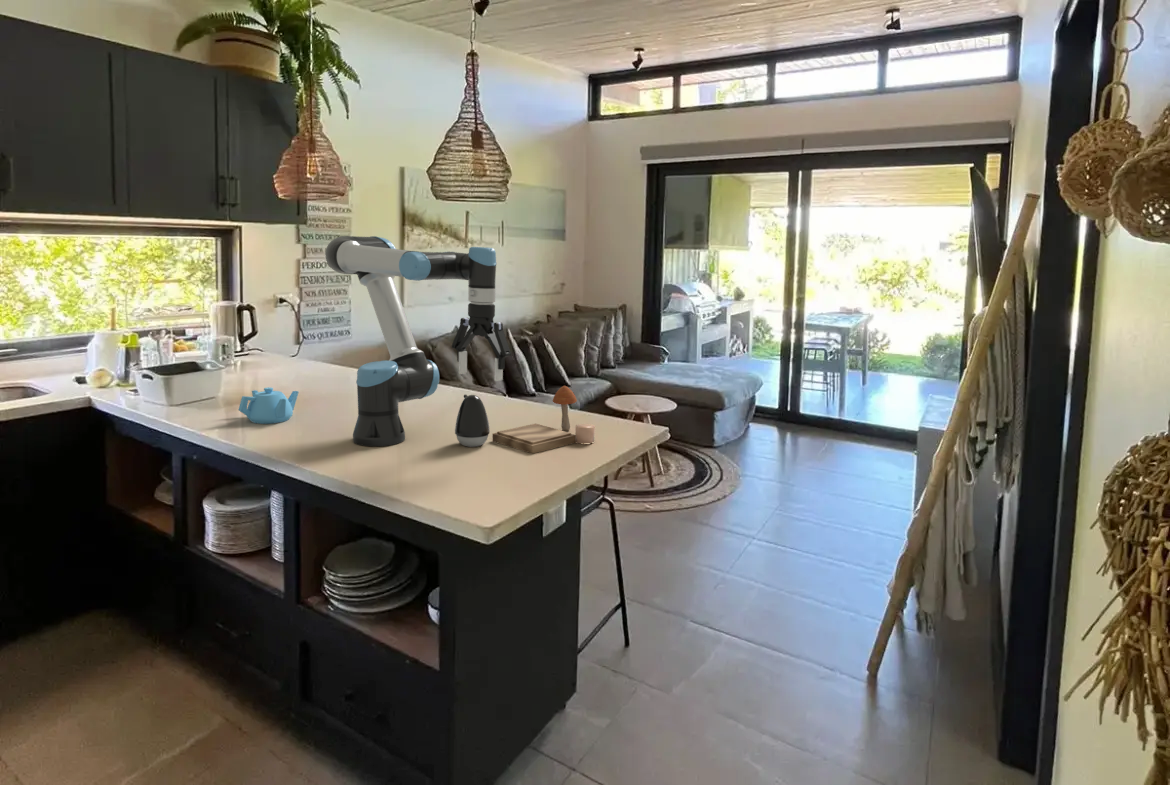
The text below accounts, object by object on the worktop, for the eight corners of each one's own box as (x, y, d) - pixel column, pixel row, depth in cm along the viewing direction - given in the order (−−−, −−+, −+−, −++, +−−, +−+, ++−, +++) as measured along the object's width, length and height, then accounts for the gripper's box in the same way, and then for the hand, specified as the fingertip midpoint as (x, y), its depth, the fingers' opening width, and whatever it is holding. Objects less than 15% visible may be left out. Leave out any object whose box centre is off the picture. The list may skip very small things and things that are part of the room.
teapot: (254, 414, 244) (252, 383, 242) (300, 414, 246) (298, 383, 244) (237, 425, 230) (235, 392, 227) (286, 425, 231) (284, 392, 229)
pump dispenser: (480, 438, 222) (480, 390, 219) (495, 446, 214) (495, 396, 211) (449, 442, 217) (448, 393, 214) (463, 451, 208) (463, 399, 205)
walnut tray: (492, 441, 220) (492, 431, 219) (535, 431, 233) (535, 422, 232) (532, 453, 208) (532, 443, 207) (575, 442, 221) (576, 433, 220)
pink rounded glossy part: (571, 441, 222) (571, 425, 221) (584, 438, 226) (584, 422, 225) (585, 445, 218) (585, 429, 217) (598, 442, 222) (599, 426, 221)
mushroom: (546, 429, 235) (547, 384, 232) (565, 426, 240) (566, 382, 237) (562, 434, 229) (563, 388, 226) (581, 431, 235) (582, 385, 232)
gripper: (439, 299, 206) (439, 372, 210) (507, 307, 193) (505, 385, 197) (458, 298, 212) (457, 369, 216) (524, 306, 199) (522, 381, 203)
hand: (480, 377), depth 207 cm, fingers open, 13 cm apart
